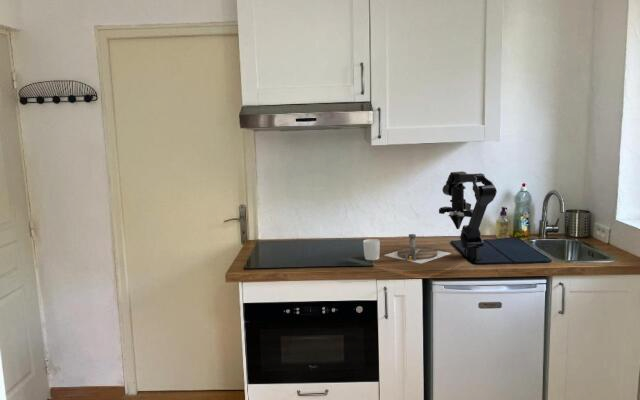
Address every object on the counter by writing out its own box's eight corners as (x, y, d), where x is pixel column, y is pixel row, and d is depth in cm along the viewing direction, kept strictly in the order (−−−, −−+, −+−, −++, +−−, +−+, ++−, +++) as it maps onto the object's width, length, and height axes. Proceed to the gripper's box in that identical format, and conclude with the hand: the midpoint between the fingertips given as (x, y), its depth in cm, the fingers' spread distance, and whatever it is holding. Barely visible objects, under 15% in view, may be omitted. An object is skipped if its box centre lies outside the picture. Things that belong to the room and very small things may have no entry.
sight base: (451, 256, 242) (451, 248, 242) (421, 266, 228) (420, 258, 227) (414, 249, 260) (414, 242, 259) (383, 258, 245) (383, 250, 245)
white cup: (381, 259, 244) (380, 238, 242) (379, 263, 236) (378, 242, 235) (364, 259, 245) (364, 239, 244) (362, 263, 238) (362, 242, 236)
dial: (443, 257, 235) (442, 233, 233) (403, 260, 233) (402, 236, 231) (430, 247, 254) (429, 226, 252) (393, 250, 252) (392, 228, 250)
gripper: (484, 196, 242) (484, 228, 244) (451, 194, 256) (451, 224, 258) (470, 199, 235) (471, 232, 237) (437, 196, 249) (438, 227, 251)
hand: (458, 229), depth 246 cm, fingers closed
